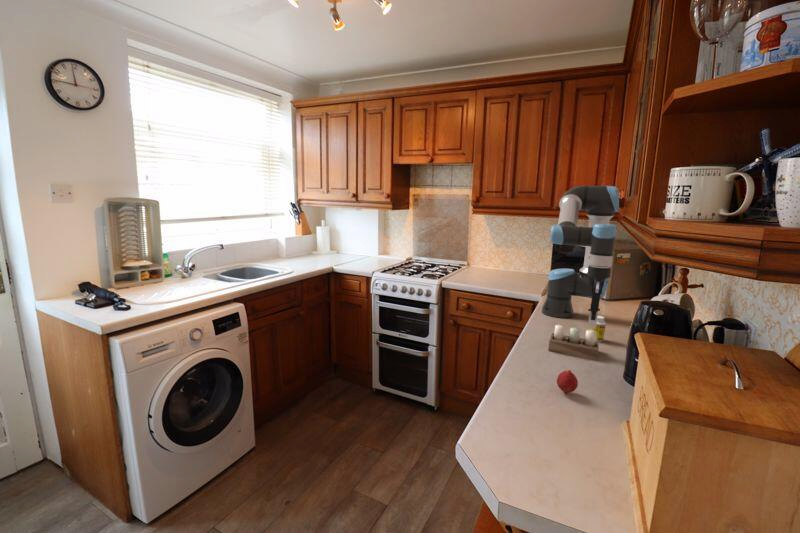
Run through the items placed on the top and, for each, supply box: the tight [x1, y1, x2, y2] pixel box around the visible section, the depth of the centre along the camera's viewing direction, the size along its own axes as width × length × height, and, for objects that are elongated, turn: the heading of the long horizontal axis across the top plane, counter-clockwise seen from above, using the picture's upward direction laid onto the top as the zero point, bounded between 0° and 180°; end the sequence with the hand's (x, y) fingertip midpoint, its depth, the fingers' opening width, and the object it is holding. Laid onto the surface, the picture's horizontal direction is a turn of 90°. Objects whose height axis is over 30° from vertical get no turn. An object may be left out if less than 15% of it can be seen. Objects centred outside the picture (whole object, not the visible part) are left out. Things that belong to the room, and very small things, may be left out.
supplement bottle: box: [589, 315, 607, 343], centre depth 159 cm, size 6×6×10 cm
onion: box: [556, 368, 579, 395], centre depth 115 cm, size 6×6×8 cm
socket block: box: [547, 332, 600, 361], centre depth 147 cm, size 10×17×4 cm, turn 63°
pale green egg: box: [568, 326, 581, 344], centre depth 146 cm, size 4×4×5 cm
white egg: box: [584, 329, 597, 347], centre depth 144 cm, size 4×4×5 cm
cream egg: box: [554, 324, 566, 341], centre depth 149 cm, size 4×4×5 cm
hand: (591, 327), depth 143 cm, fingers closed
